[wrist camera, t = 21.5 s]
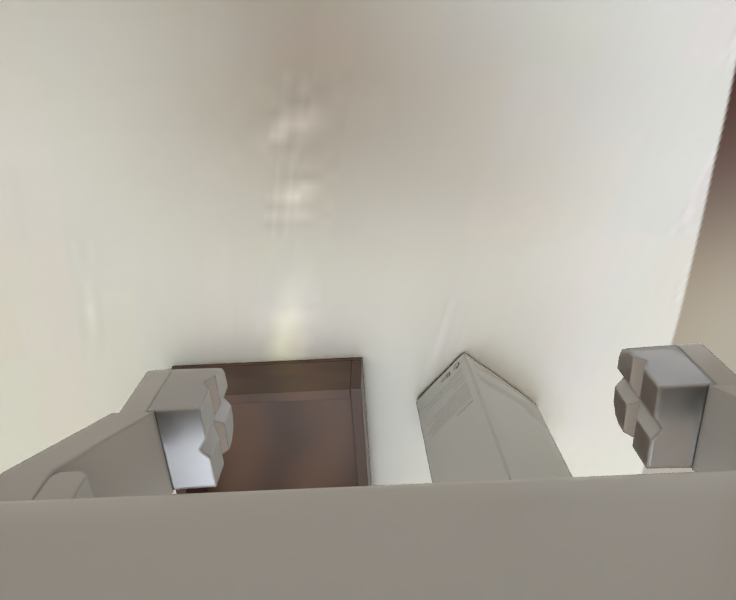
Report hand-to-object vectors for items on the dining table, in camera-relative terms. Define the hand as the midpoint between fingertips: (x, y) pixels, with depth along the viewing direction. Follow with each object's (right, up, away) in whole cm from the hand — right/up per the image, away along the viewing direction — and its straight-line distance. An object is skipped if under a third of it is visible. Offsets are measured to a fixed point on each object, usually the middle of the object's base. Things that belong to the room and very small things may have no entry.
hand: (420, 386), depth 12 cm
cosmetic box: (+8, -6, +35) cm, 36 cm away
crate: (-8, -10, +37) cm, 39 cm away
